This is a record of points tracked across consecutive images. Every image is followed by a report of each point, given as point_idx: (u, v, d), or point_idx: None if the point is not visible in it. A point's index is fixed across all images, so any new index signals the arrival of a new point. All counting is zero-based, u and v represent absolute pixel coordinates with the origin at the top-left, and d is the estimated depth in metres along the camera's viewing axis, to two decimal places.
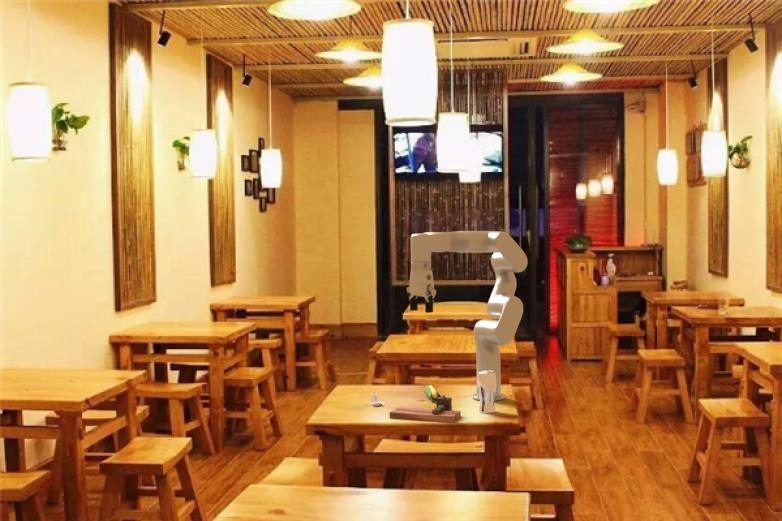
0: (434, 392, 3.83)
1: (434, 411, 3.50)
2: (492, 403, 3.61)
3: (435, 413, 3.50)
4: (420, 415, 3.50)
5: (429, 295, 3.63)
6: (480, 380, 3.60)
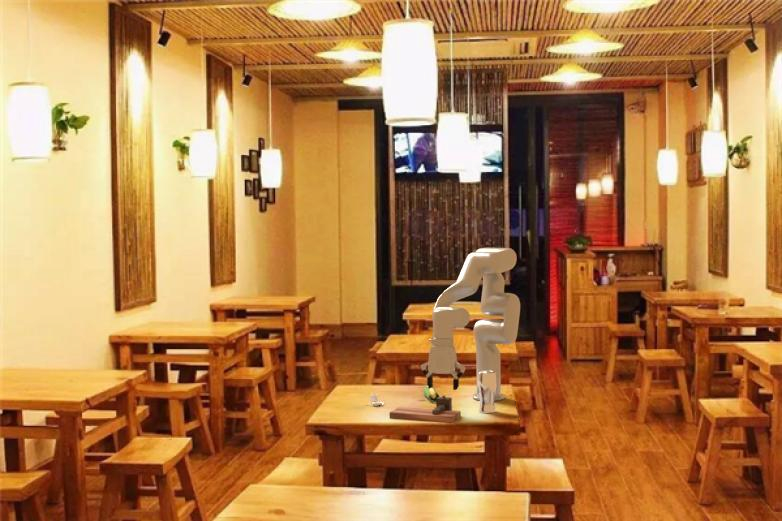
0: (433, 392, 3.83)
1: (434, 411, 3.50)
2: (492, 403, 3.61)
3: (435, 413, 3.50)
4: (420, 415, 3.50)
5: None
6: (480, 380, 3.60)
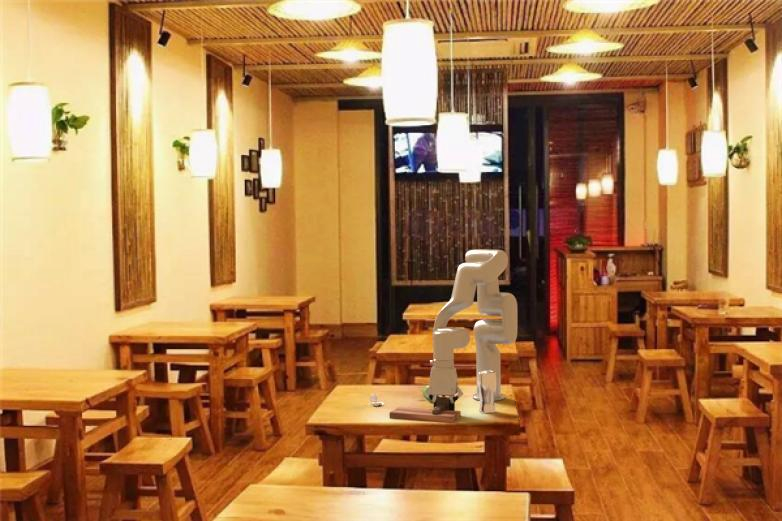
0: None
1: (434, 411, 3.50)
2: (492, 403, 3.61)
3: (435, 413, 3.50)
4: (420, 415, 3.50)
5: None
6: (480, 380, 3.60)
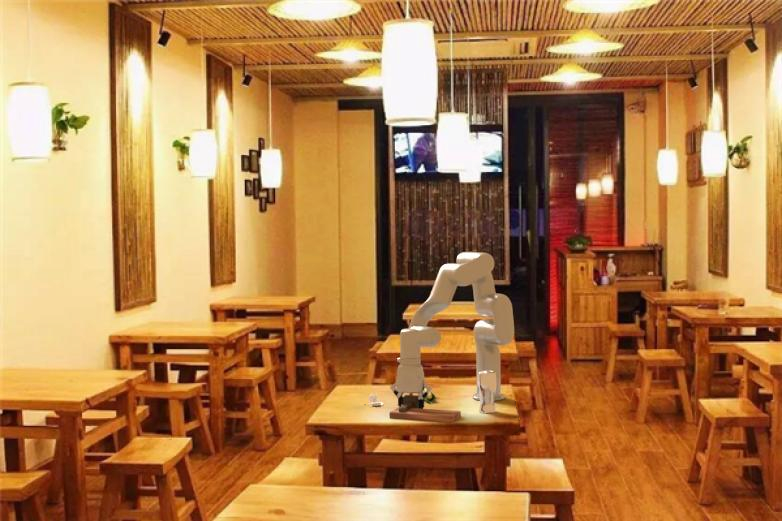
0: None
1: (400, 409, 3.55)
2: (492, 403, 3.61)
3: (401, 411, 3.55)
4: (420, 415, 3.50)
5: None
6: (480, 380, 3.60)
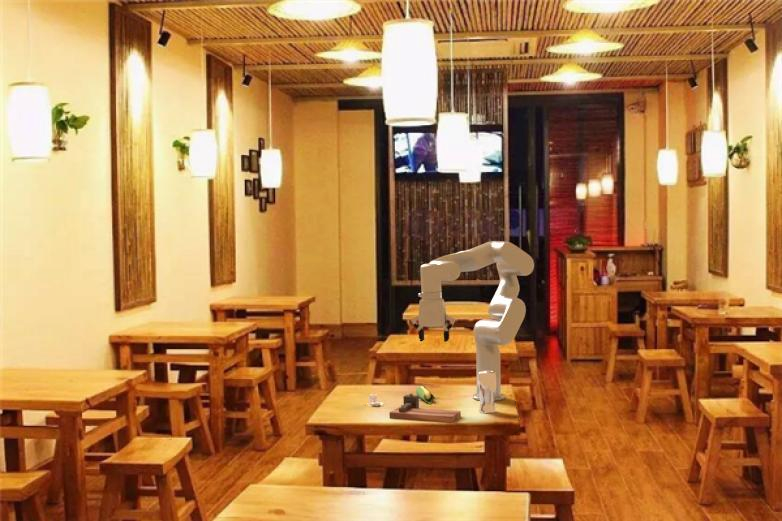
0: (427, 393, 3.82)
1: (400, 409, 3.55)
2: (492, 403, 3.61)
3: (401, 411, 3.55)
4: (420, 415, 3.50)
5: None
6: (480, 380, 3.60)
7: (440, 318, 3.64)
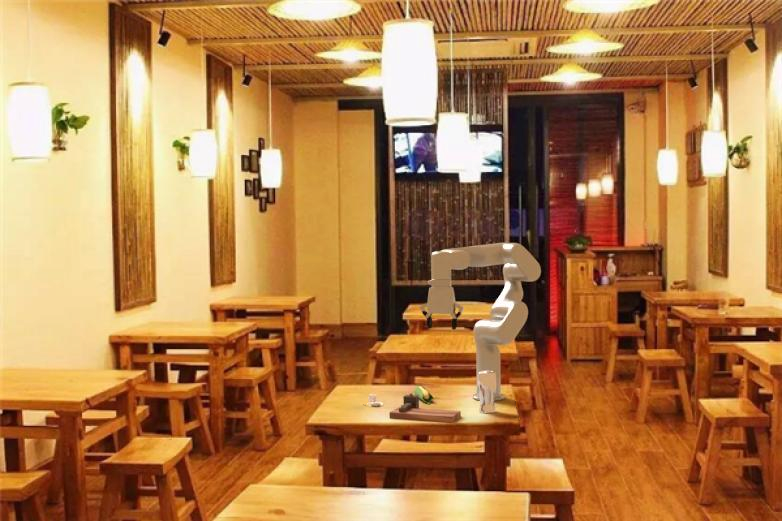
0: (426, 393, 3.82)
1: (400, 409, 3.55)
2: (492, 403, 3.61)
3: (401, 411, 3.55)
4: (420, 415, 3.50)
5: None
6: (480, 380, 3.60)
7: (449, 305, 3.65)
